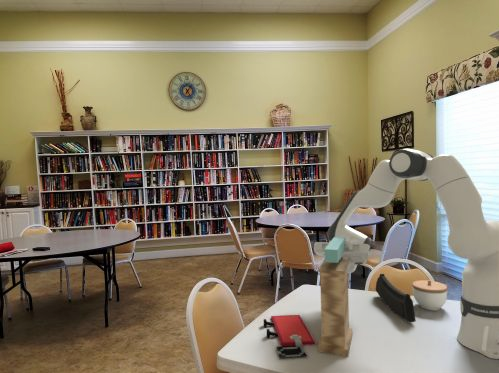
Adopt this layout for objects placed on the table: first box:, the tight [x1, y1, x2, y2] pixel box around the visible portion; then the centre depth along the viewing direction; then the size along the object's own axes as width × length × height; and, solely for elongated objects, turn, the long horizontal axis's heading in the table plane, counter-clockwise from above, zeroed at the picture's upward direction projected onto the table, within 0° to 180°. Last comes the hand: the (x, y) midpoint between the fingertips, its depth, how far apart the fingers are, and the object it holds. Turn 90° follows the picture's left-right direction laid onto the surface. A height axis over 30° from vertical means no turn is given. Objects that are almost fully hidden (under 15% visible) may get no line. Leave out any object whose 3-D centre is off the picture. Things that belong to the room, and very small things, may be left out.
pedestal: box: [317, 259, 353, 357], centre depth 109 cm, size 9×15×26 cm, turn 158°
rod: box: [324, 237, 346, 263], centre depth 113 cm, size 4×22×4 cm, turn 158°
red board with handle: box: [263, 314, 316, 358], centre depth 116 cm, size 30×3×15 cm
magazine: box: [375, 273, 417, 323], centre depth 135 cm, size 17×3×30 cm
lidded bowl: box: [411, 279, 448, 311], centre depth 136 cm, size 13×13×11 cm
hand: (338, 242), depth 120 cm, fingers closed on rod, 4 cm apart
